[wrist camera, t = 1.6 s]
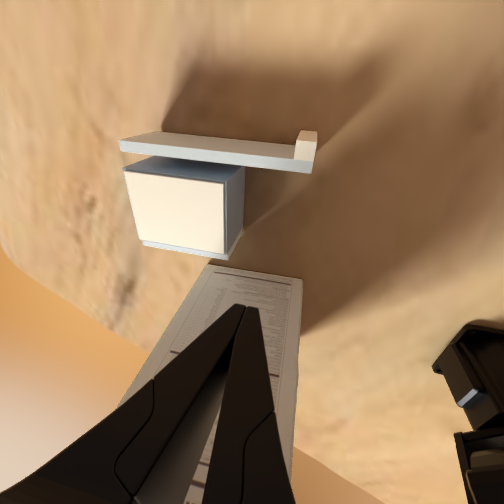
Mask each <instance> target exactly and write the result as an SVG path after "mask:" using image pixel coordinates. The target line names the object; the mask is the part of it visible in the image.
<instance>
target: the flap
mask: <svg viewBox="0 0 504 504" xmlns="http://www.w3.org/2000/svg"><path fill="white" fill-rule="evenodd" d="M118 141H119V145H120V150H121V151H122V152H131V153H139V154H148V155H156V156H165V157H173V158H182V159H190V160H199V161H207V162H216V163H224V164H233V165H241V166H250V167H258V168H267V169H276V170H284V171H293V172H301V173H310V174H311V172H312V167H313V162H314V156H315V151H316V146H317V132H316V131H305V130H301V131H300V133H299V135H298V138H297V140H296V145H287V144H277V143H267V142H257V141H247V140H237V139H228V138H218V137H208V136H198V135H188V134H178V133H168V132H158V131H156V132H151V133H147V134H143V135H139V136H134V137H130V138H126V139H122V140H118Z"/></svg>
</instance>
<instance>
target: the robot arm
mask: <svg viewBox="0 0 504 504" xmlns="http://www.w3.org/2000/svg"><path fill="white" fill-rule="evenodd" d="M432 369H433V371H434V372H435V373H437V374H442V375H444V377H445V379H446V382H447V384H448V386H449V388H450V391H451V393H452V395H453V397H454V399H455V402H456V404H457V405H458V406H459V407H461V408H463V409H464V411H465V413H466V416H467V418H468V420H469V422H470V424H471V426H472V428H473V431H470V432H465V433H462V432H457V433H454V438H455V443H456V449H457V454H458V459H459V463H460V468H461V472H462V477H463V482H464V486H465V491H466V495H467V500H468V504H504V331H501V330H496V329H490V328H485V327H480V326H475V325H467V326H464V327H463V328H462V329H461V331H460V332H459V333H458V334H457V336H456V337H455V338H454V339H453V340H452V342H451V343H450V344H449V345H448V347H447V348H446V349H445V350H444V352H443V353H442V354H441V355H440V356H439V358H438V359H437V360H436V361H435V363H434V364H433V365H432ZM220 406H221V408H220ZM219 409H220V413H219V418H218V423H217V428H216V433H215V438H214V443H213V448H212V453H211V458H210V463H209V468H208V473H207V479H206V484H205V489H204V494H203V499H202V504H296V503H295V499H294V495H293V492H292V488H291V484H290V480H289V476H288V472H287V468H286V464H285V460H284V456H283V451H282V446H281V441H280V435H279V430H278V424H277V418H276V413H275V406H274V400H273V394H272V388H271V381H270V375H269V369H268V363H267V356H266V350H265V344H264V338H263V331H262V325H261V319H260V313H259V309H258V308H257V307H252V306H247V307H246V305H243V304H238V303H235V304H233V305H232V306H231V307H230V308H229V309H228V310H226V311H225V312H224V313H223V314H222V315H221V316H220V317H219V318H218V319H217V320H215V321H214V322H213V323H212V324H211V325H210V326H209V327H208V328H207V329H206V330H204V331H203V332H202V333H201V334H200V335H199V336H198V337H197V338H196V339H195V340H193V341H192V342H191V343H190V344H189V345H188V346H187V347H186V348H185V349H184V350H182V351H181V352H180V353H179V354H178V355H177V356H176V357H175V358H174V359H173V360H171V361H170V362H169V363H168V364H167V365H166V366H165V367H164V368H163V369H162V370H160V371H159V372H158V373H157V374H156V375H155V376H154V379H150V380H149V381H148V382H147V383H146V384H145V385H144V386H143V387H142V388H141V389H139V390H138V391H137V392H136V393H135V394H134V395H132V396H131V397H130V398H129V399H128V400H127V401H126V402H124V403H123V404H122V405H121V406H120V407H118V408H117V409H116V410H115V411H113V412H112V413H111V414H110V415H108V416H107V417H106V418H105V419H103V420H102V421H101V422H100V423H98V424H97V425H95V426H94V427H93V428H91V429H90V430H89V431H88V432H86V433H85V434H84V435H82V436H81V437H80V438H78V439H77V440H76V441H75V442H73V443H72V444H71V445H69V446H68V447H67V448H65V449H64V450H63V451H61V452H60V453H59V454H57V455H56V456H55V457H53V458H52V459H51V460H50V461H48V462H47V463H46V464H44V465H43V466H42V467H40V468H39V469H37V470H36V471H35V472H33V473H32V474H30V475H29V476H27V477H26V478H25V479H23V480H21V481H20V482H18V483H16V484H15V485H13V486H12V487H10V488H8V489H6V490H4V491H3V492H1V493H0V504H183V503H184V500H185V498H186V495H187V493H188V490H189V487H190V485H191V482H192V479H193V477H194V474H195V472H196V469H197V466H198V464H199V461H200V458H201V456H202V453H203V451H204V448H205V445H206V443H207V440H208V437H209V435H210V432H211V430H212V427H213V424H214V422H215V419H216V416H217V414H218V411H219Z"/></svg>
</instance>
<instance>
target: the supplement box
mask: <svg viewBox="0 0 504 504" xmlns="http://www.w3.org/2000/svg"><path fill="white" fill-rule="evenodd" d="M302 297H303V280H302V279H298V278H291V277H285V276H278V275H272V274H266V273H260V272H253V271H247V270H241V269H234V268H228V267H222V266H215V265H209V264H207V265H206V266H205V268H204V269H203V271H202V272H201V274H200V276H199V277H198V279H197V281H196V282H195V284H194V285H193V287H192V288H191V290H190V292H189V293H188V295H187V296H186V298H185V300H184V301H183V303H182V305H181V306H180V308H179V309H178V311H177V312H176V314H175V316H174V317H173V319H172V320H171V322H170V324H169V325H168V327H167V328H166V330H165V331H164V333H163V335H162V336H161V338H160V340H159V341H158V343H157V344H156V346H155V348H154V349H153V351H152V352H151V354H150V356H149V357H148V359H147V360H146V362H145V364H144V365H143V367H142V368H141V370H140V371H139V373H138V374H137V376H136V378H135V379H134V381H133V382H132V384H131V386H130V387H129V389H128V390H127V392H126V394H125V395H124V397H123V398H122V400H121V402H120V403H119V405H118V406H117V408H118V407H120V406H121V405H122V404H123V403H124V402H126V401H127V400H128V399H129V398H130V397H131V396H132V395H134V394H135V393H136V392H137V391H138V390H139V389H141V388H142V387H143V386H144V385H145V384H146V383H147V382H148V381H149V380H150V379H154V376H155V375H156V374H157V373H158V372H159V371H160V370H162V369H163V368H164V367H165V366H166V365H167V364H168V363H169V362H170V361H171V360H173V359H174V358H175V357H176V356H177V355H178V354H179V353H180V352H181V351H182V350H184V349H185V348H186V347H187V346H188V345H189V344H190V343H191V342H192V341H193V340H195V339H196V338H197V337H198V336H199V335H200V334H201V333H202V332H203V331H204V330H206V329H207V328H208V327H209V326H210V325H211V324H212V323H213V322H214V321H215V320H217V319H218V318H219V317H220V316H221V315H222V314H223V313H224V312H225V311H226V310H228V309H229V308H230V307H231V306H232V305H233V304H235V303H238V304H243V305H246V307H247V306H252V307H257V308H258V309H259V313H260V319H261V325H262V331H263V338H264V344H265V350H266V356H267V363H268V369H269V375H270V381H271V388H272V394H273V400H274V406H275V413H276V418H277V424H278V430H279V435H280V441H281V446H282V451H283V456H284V460H285V464H286V468H287V472H288V476H289V480H290V484H291V472H292V457H293V440H294V423H295V411H296V400H297V387H298V354H299V342H300V327H301V311H302ZM117 408H116V409H117ZM220 408H221V406H220ZM116 409H115V410H116ZM219 413H220V409H219V411H218V414H217V416H216V419H215V422H214V424H213V427H212V430H211V432H210V435H209V437H208V440H207V443H206V445H205V448H204V451H203V453H202V456H201V458H200V461H199V464H198V466H197V469H196V472H195V474H194V477H193V479H192V482H191V485H190V487H189V490H188V493H187V495H186V498H185V500H184V503H183V504H202V499H203V494H204V489H205V484H206V479H207V473H208V468H209V463H210V458H211V453H212V448H213V443H214V438H215V433H216V428H217V423H218V418H219Z"/></svg>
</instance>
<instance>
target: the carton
mask: <svg viewBox="0 0 504 504" xmlns="http://www.w3.org/2000/svg"><path fill="white" fill-rule="evenodd" d="M122 169H123V173H124V177H125V181H126V186H127V190H128V194H129V198H130V203H131V207H132V211H133V215H134V220H135V224H136V228H137V233H138V237H139V240H142V241H143V245H145V246H150V247H156V248H161V249H167V250H172V251H178V252H184V253H189V254H195V255H200V256H206V257H211V258H217V259H222V260H228V259H229V258H230V256H231V254H232V252H233V250H234V248H235V246H236V245H237V243H238V241H239V239H240V237H241V235H242V232H243V221H244V196H245V172H246V166H241V165H233V164H224V163H216V162H207V161H199V160H190V159H182V158H173V157H165V156H156V155H155V156H152V157H150V158H147V159H144V160H142V161H139V162H137V163H134V164H131V165H129V166H126V167H124V168H122Z"/></svg>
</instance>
